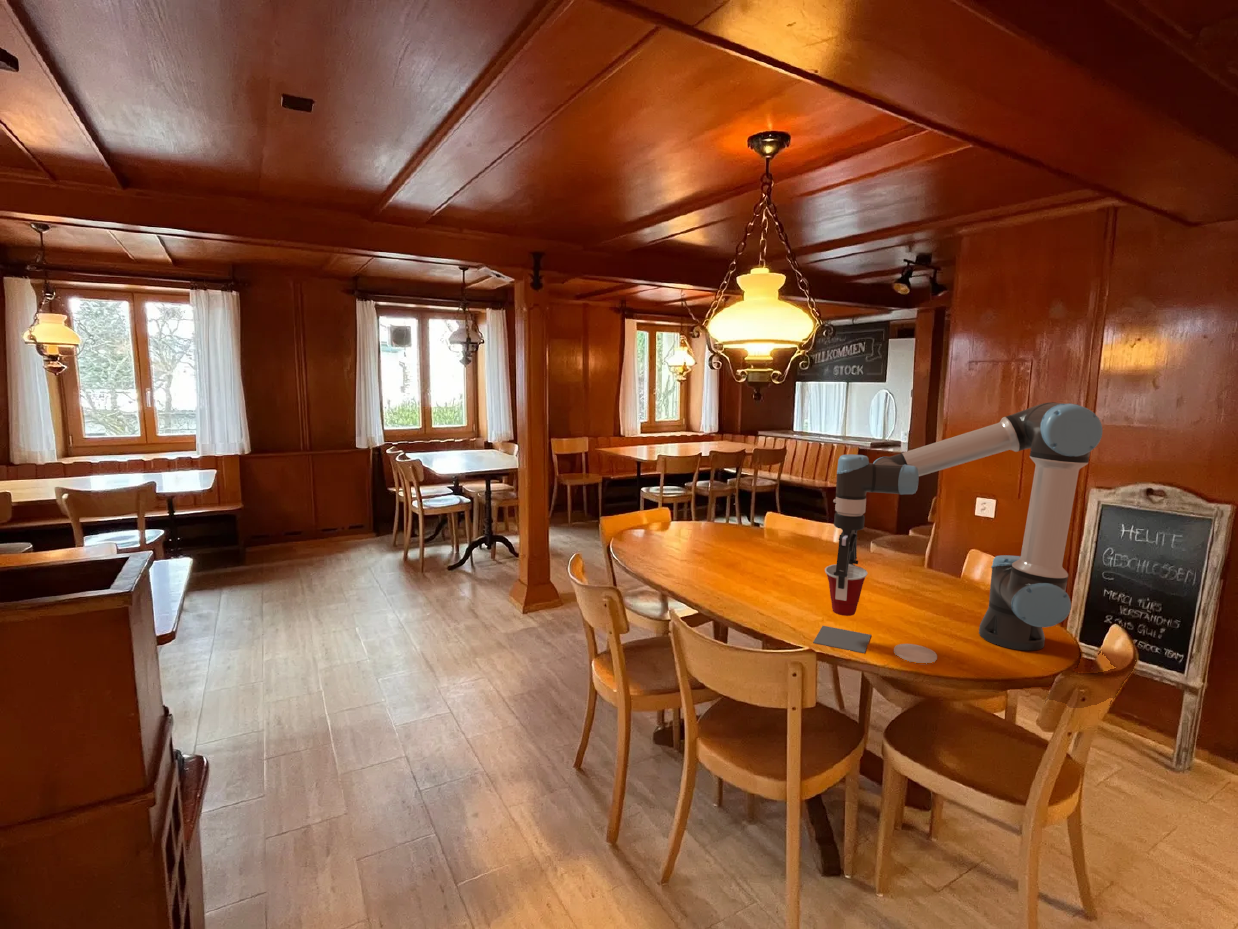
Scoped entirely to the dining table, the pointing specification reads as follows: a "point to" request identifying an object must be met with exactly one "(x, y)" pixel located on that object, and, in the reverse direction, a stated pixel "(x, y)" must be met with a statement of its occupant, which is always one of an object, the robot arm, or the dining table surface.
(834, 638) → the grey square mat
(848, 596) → the plastic cup
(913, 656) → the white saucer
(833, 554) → the dining table surface
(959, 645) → the dining table surface
